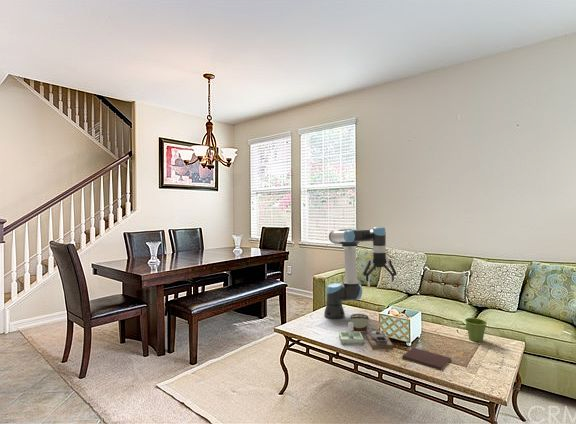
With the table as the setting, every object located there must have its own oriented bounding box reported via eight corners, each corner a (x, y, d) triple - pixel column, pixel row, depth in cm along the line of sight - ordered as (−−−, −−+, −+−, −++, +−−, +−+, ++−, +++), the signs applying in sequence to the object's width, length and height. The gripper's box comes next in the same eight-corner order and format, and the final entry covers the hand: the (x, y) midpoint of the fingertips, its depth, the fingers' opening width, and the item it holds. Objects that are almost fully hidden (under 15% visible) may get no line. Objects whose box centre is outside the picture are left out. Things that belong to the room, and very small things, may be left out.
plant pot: (465, 341, 197) (464, 322, 197) (464, 334, 207) (464, 316, 207) (488, 345, 191) (488, 325, 191) (486, 337, 202) (486, 319, 202)
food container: (367, 328, 221) (367, 313, 221) (369, 331, 215) (369, 316, 215) (349, 328, 222) (349, 313, 222) (350, 331, 216) (349, 316, 216)
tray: (339, 336, 208) (339, 331, 208) (359, 336, 207) (359, 331, 207) (341, 344, 196) (341, 339, 196) (363, 344, 196) (363, 339, 195)
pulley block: (366, 337, 205) (366, 328, 205) (385, 337, 205) (385, 328, 205) (371, 348, 189) (371, 339, 189) (393, 348, 189) (393, 339, 189)
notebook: (413, 350, 188) (413, 346, 188) (450, 360, 174) (450, 356, 174) (402, 359, 177) (402, 355, 177) (440, 371, 163) (440, 367, 163)
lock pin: (348, 337, 203) (347, 321, 203) (353, 337, 203) (352, 321, 203) (348, 339, 200) (348, 323, 200) (353, 339, 200) (353, 323, 200)
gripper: (360, 253, 201) (360, 288, 201) (401, 252, 200) (402, 287, 200) (358, 251, 209) (358, 285, 209) (398, 251, 208) (398, 284, 208)
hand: (379, 286), depth 205 cm, fingers open, 13 cm apart
